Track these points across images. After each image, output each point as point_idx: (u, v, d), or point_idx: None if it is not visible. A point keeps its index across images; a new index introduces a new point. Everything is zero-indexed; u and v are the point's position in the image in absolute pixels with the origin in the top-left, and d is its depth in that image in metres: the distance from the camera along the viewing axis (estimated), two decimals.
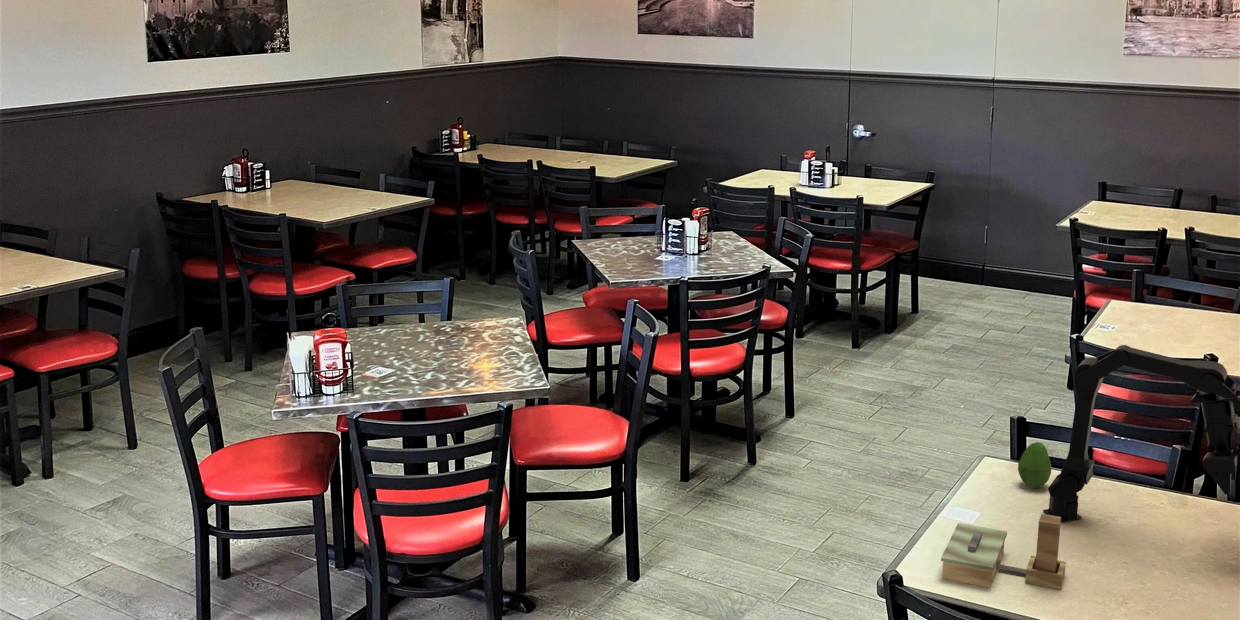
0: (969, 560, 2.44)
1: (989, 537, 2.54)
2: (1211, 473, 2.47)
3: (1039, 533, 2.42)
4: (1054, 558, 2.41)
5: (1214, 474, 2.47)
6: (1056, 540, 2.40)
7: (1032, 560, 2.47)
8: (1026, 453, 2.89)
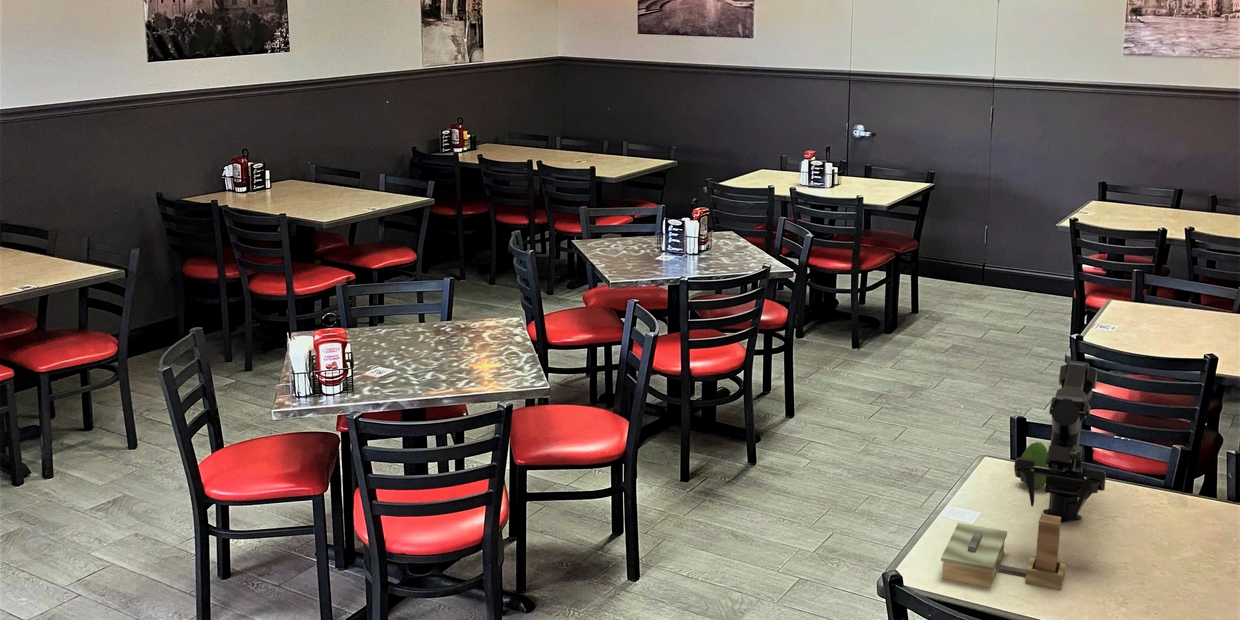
0: (969, 560, 2.44)
1: (989, 537, 2.54)
2: (1027, 485, 2.55)
3: (1039, 533, 2.42)
4: (1054, 558, 2.41)
5: (1027, 485, 2.55)
6: (1056, 540, 2.40)
7: (1032, 560, 2.47)
8: (1026, 453, 2.89)
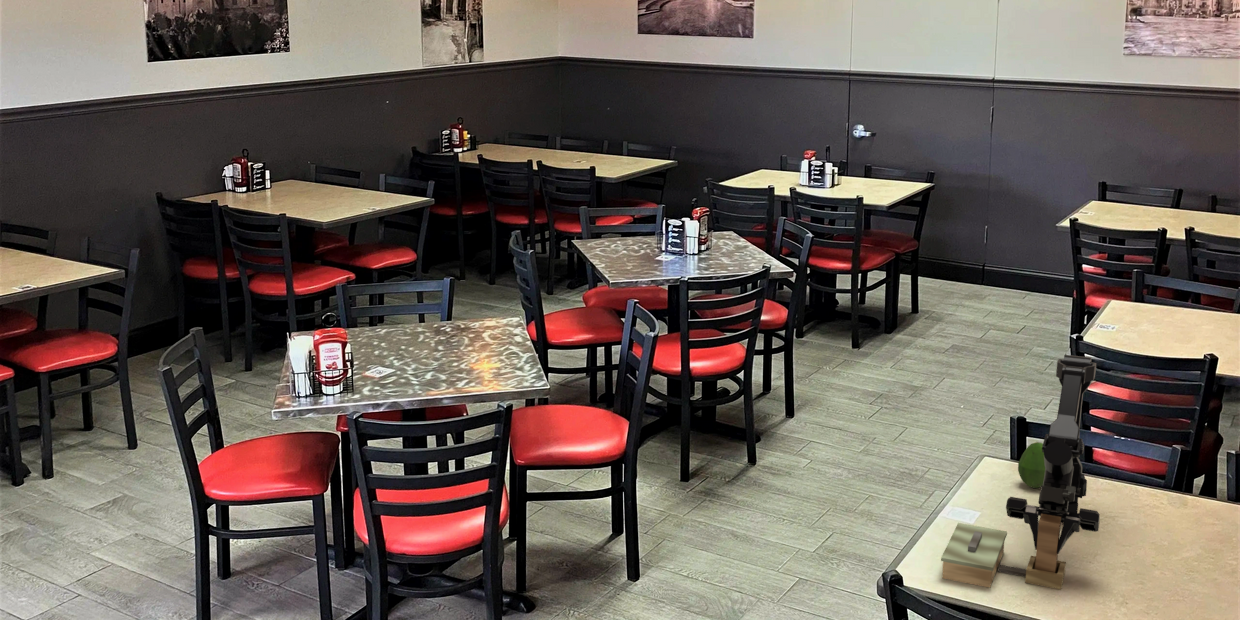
0: (969, 560, 2.44)
1: (989, 537, 2.54)
2: (1031, 527, 2.48)
3: (1039, 533, 2.42)
4: (1054, 558, 2.41)
5: (1031, 527, 2.48)
6: (1056, 540, 2.40)
7: (1032, 560, 2.47)
8: (1026, 453, 2.89)
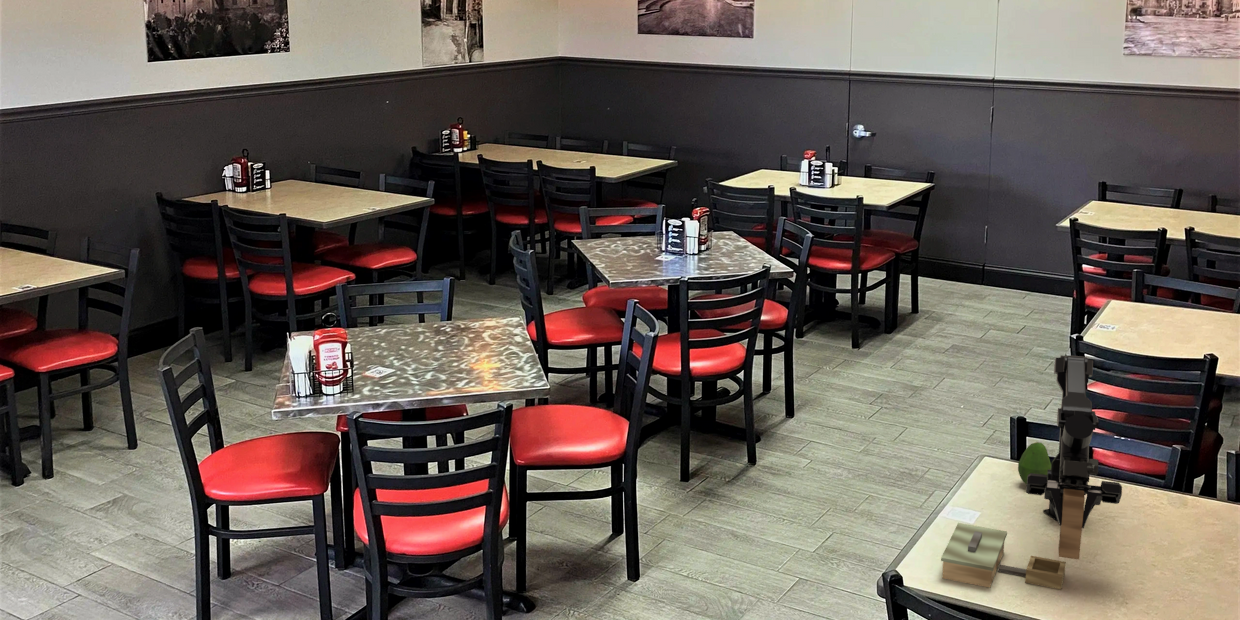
0: (969, 560, 2.44)
1: (989, 537, 2.54)
2: (1051, 502, 2.45)
3: (1064, 508, 2.38)
4: (1079, 533, 2.39)
5: (1052, 503, 2.44)
6: (1082, 514, 2.37)
7: (1032, 560, 2.47)
8: (1026, 453, 2.89)
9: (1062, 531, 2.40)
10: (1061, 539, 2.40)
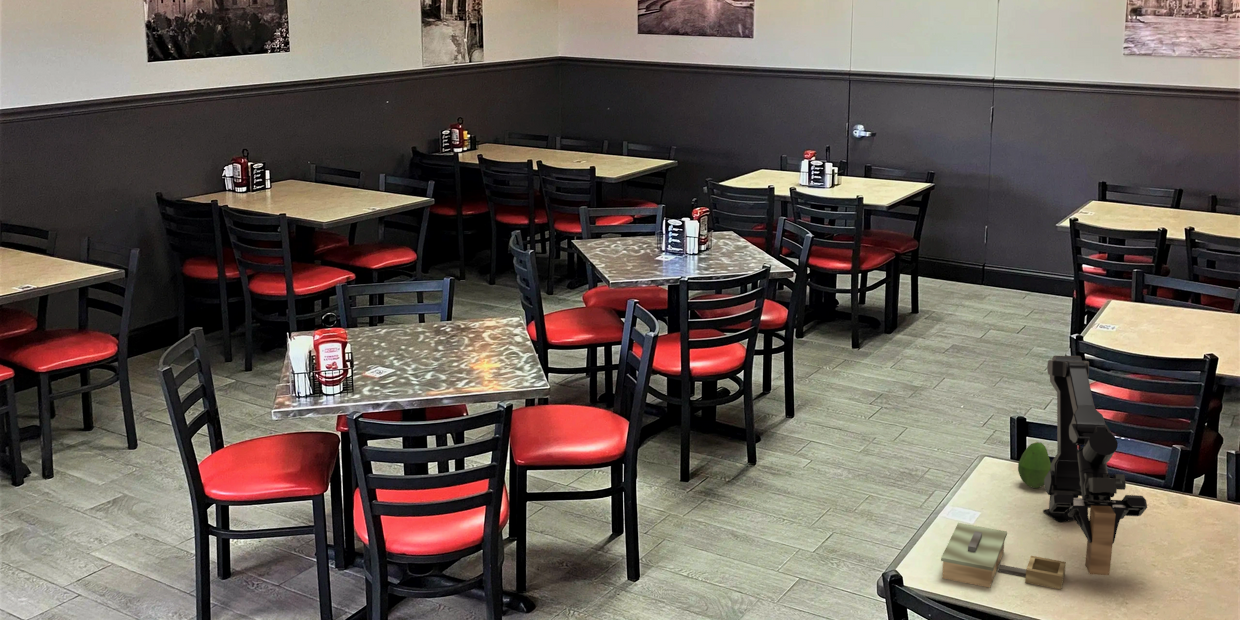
0: (969, 560, 2.44)
1: (989, 537, 2.54)
2: (1076, 520, 2.45)
3: (1095, 525, 2.38)
4: (1110, 549, 2.39)
5: (1078, 520, 2.44)
6: (1112, 530, 2.38)
7: (1032, 560, 2.47)
8: (1026, 453, 2.89)
9: (1093, 548, 2.39)
10: (1092, 556, 2.40)
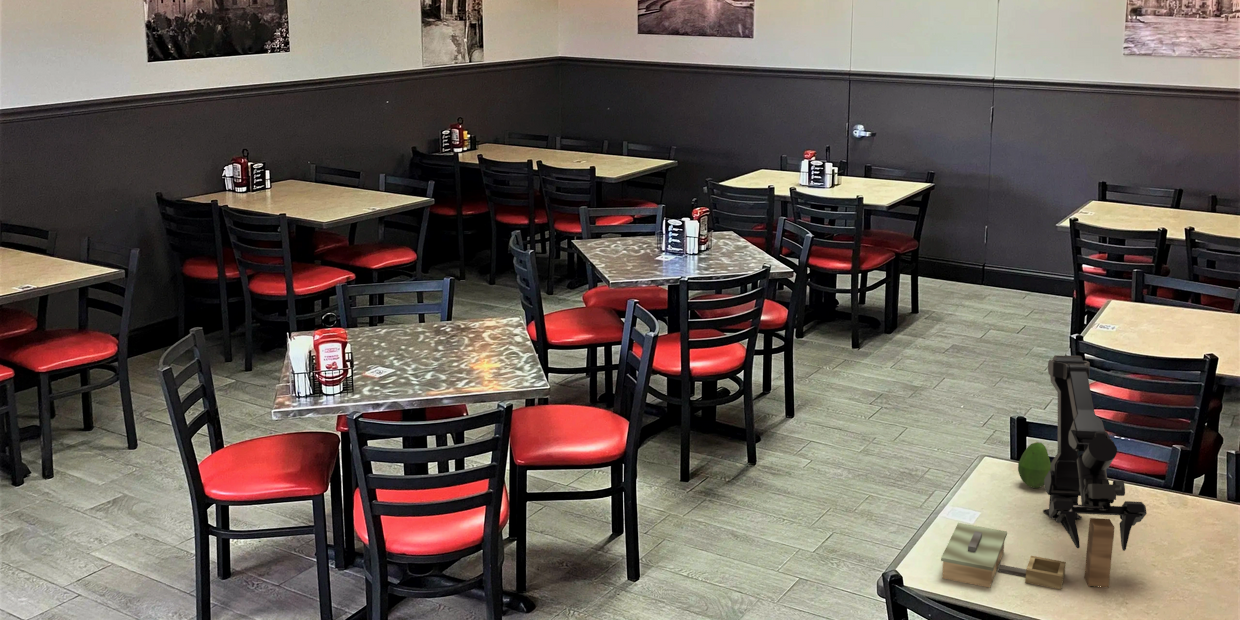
0: (969, 560, 2.44)
1: (989, 537, 2.54)
2: (1064, 525, 2.45)
3: (1094, 538, 2.39)
4: (1109, 561, 2.40)
5: (1065, 526, 2.45)
6: (1111, 543, 2.38)
7: (1032, 560, 2.47)
8: (1026, 453, 2.89)
9: (1092, 561, 2.40)
10: (1091, 569, 2.41)
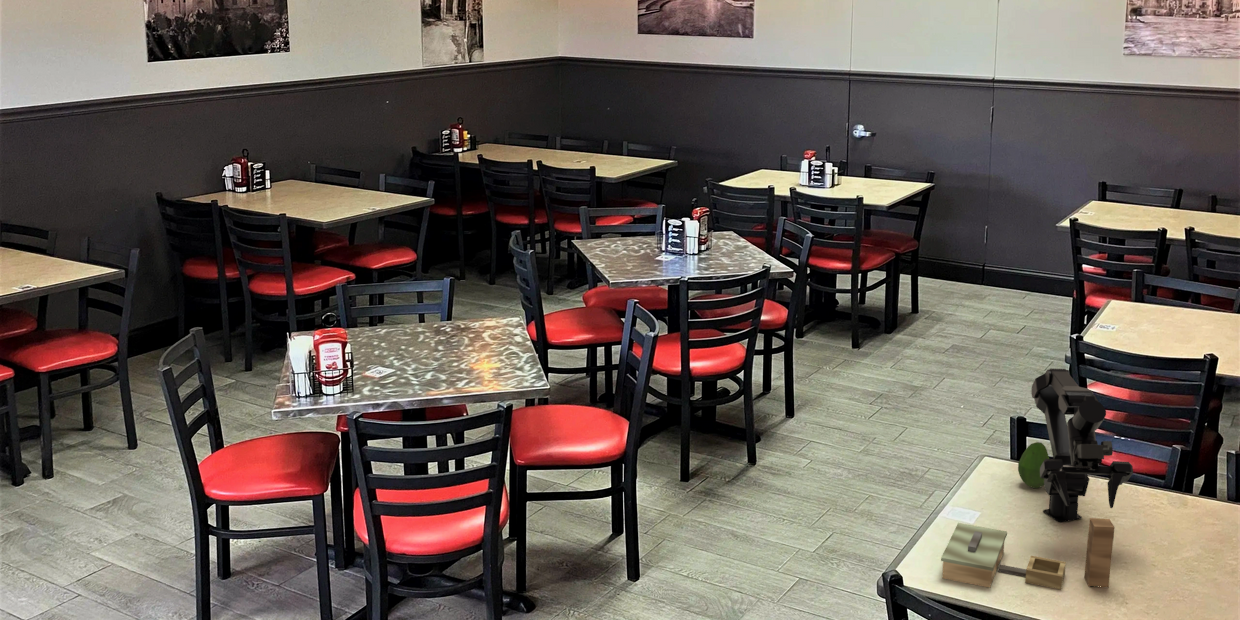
0: (969, 560, 2.44)
1: (989, 537, 2.54)
2: (1054, 485, 2.56)
3: (1094, 538, 2.39)
4: (1109, 561, 2.40)
5: (1056, 485, 2.55)
6: (1111, 543, 2.38)
7: (1032, 560, 2.47)
8: (1026, 453, 2.89)
9: (1092, 561, 2.40)
10: (1091, 569, 2.41)
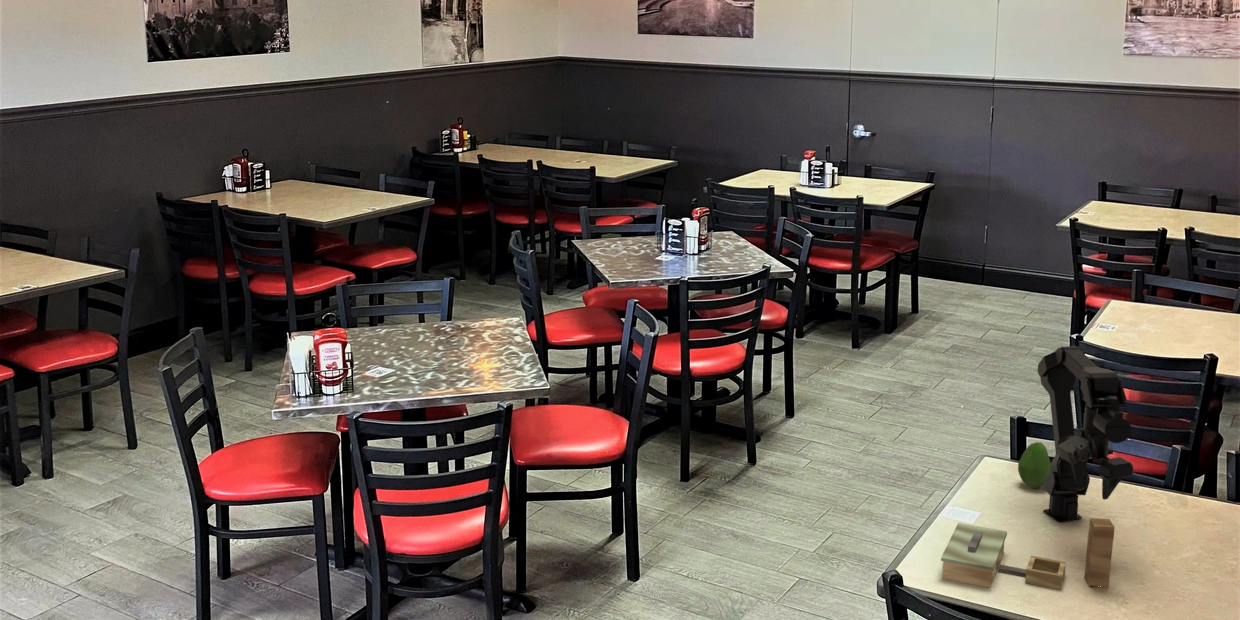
0: (969, 560, 2.44)
1: (989, 537, 2.54)
2: None
3: (1094, 538, 2.39)
4: (1109, 561, 2.40)
5: None
6: (1111, 543, 2.38)
7: (1032, 560, 2.47)
8: (1026, 453, 2.89)
9: (1092, 561, 2.40)
10: (1091, 569, 2.41)
